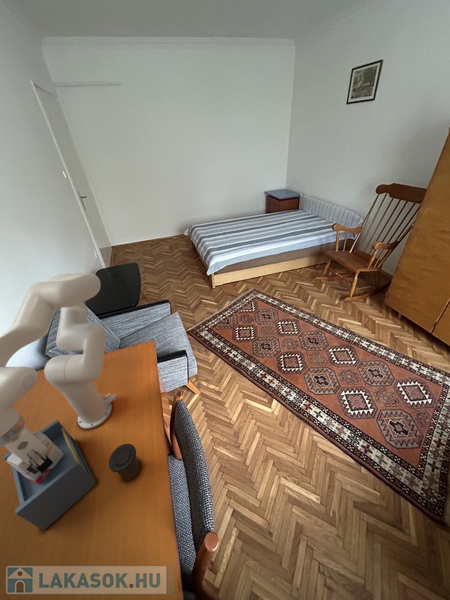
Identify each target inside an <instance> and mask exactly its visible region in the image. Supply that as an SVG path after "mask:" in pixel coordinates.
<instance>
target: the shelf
mask: <svg viewBox="0 0 450 600" xmlns="http://www.w3.org/2000/svg"><path fill="white" fill-rule="evenodd" d="M39 432H41V433H43V434H45V435H46V436H47V437H48V438H49V439H50V440H51V441H52V442H53V443H54V444H55V445H56V446H57V447H58V449H59V450H60V451H61V452H62V453H63V454H64V455H63V456H62V458H61V459H60V460H59V461H58V463H57V464H56V465H55V467H54V468H53V469H52V470H51V472H50V473H49V474H48V475H47V477H46V478H45V479H44V481H43V482H42V483H41V484H37V483H34V482H32V481H30V480H28V479H27V478H26V477H25V476H23V475H22V474H21V473H20V472H18V471H17V470H16V469H15V468H14V467H12V466H11V465H10V466H11V471H12V475H13V479H14V483H15V488H16V492H17V497H18V500H19V506H17V507H16V508H15V509H14V513H15V515H17V516H19V517H21V518H22V519H23V520H25V521H27V522H29V523H30V524H32V525H33V526H35V527H37V528H38V529H40V530H42V531H45V530H47V529H48V528H49V527H50V526H51V525H52V524H53V523H54V522H55V521H57V520H58V519H59V518H60V517H61V516H62V515H63V514H65V513H66V512H67V511H68V510H69V509H70V508H72V506H73V505H75V503H77V502H78V501H79V500H80V499H82V498H83V496H85V495H86V494H87V493H88V492H89V491H90V490H91V489H92V488H93V487H95V486H96V485H97V482H96V480H95V478H94V475H93V473H92V471H91V469H90V467H89V465H88V463H87V461H86V459H85V457H84V455H83V453H82V451H81V449H80V447H79V445H78V443H77V441H76V439H75V438H74V437H73V436H72V435H71V433H69V431H68V430H67V429H66V427H65V426H64V425H63V424H62V423H61V422H60V420H59V419H56V420H54V421H53V422H52V423H50V424H49V425H47V426H45V427H44V428H42V429H41V430H40V431H39ZM11 454H12V452H10V451H8V452H7V453H6V454H4V455H3V459H4V460H5V461H6V460H7V458H8V457H9V456H10V455H11Z"/></svg>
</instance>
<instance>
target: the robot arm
mask: <svg viewBox="0 0 450 600" xmlns="http://www.w3.org/2000/svg"><path fill="white" fill-rule="evenodd" d="M101 284H102V283H101V280H100V278H99V277H98V276H97V275H96V274H95V273H92V272H76V273H75V272H74V273H62V274H61V273H60V274H56V275H54V276H52V277H50V278H49V280H48V281H47V280H46V281H39V282H36V283H33V284H32V285H30V286H29V287H28V289H27V291H26V293H25V296H24V298H23V299H22V301H21V305H20V307H19V309H18V311H17V314H16V315H15V318H14V320H13V322H12V325H11V326H10V327H9V328H8V329H7V330H5V332H3V333H2V334H0V448H2V447H4V448H5V449H7V450H8V452H12V453H13V454H14V455H15V456H17V457H18V458H19V459H21V460H22V461H24V462H25V463H27V464H31V463H32V464H33V465H35V466H34V467H35V468H36V469H38V470H39V471H40V472H41V473H43V472H44V471H45V470H46V469H47V468H49V467H50V466H51V465H52V464H53V461H52V460H51V459H49V458H48V457H47V456H44V455H43V454H42V453H43V452H44V451H45V450H46V447H45V446H44V445H43V444H42V443H41V442H40V440H39V439H38V438H37V437H36V436H35V435H34V434H33V432H32V431H31V430H30V429H29V428H28V427H27V420H26V419H25V417H23V416H22V415H21V413H20V412H18V411H17V410H16V409H15V407H14V405H15V404H16V403H17V402H18V401H20V400H21V399H22V398H23V397H25V396H26V395H27V394H28V393H29V392H30V391H31V390H32V389H33V387H34V386H35V385H36V383H37V380H38V373H37V371H36V369H34V368H33V367H31V366H7V364H8V362H9V361H10V360H11V358H12V357H13V356H14V355H15V354H16V353H17V352H19V350H21V349H23V348H25V347H26V346H28V345H31V344H32V343H34V342H36V341H38V340H40V339H42V338H44V337H46V336H47V334H48V333H49V330H50V328H51V324H52V322H53V319H54V316H55V314H56V311H57V310H58V309H60V316H59V322H58V327H57V332H56V337H55V344H56V347H57V348H58V349H59V350H61V351H69V352H70V351H83V353H71V354H59V355H55V356H54V357H52V358H50V359H48V361H46V364H45V365H44V368H43V374H44V377H45V379H46V381H47V382H48V383H49V384H50V385H52V386H53V387H54V388H55V389H57V391H59V392H60V393H61V394H62V396H63V397H64V398H65V400H66V401H67V402H68V404H69V405H70V406H71V408H72V409H73V410H74V411H75V413H76V414H77V424H78V426H79V427H80V428H81V429H84V430H90V429H94V428H96V427H98V426H100V425H101V424H103V423H104V422H105V421H106V420H107V419H108V418H109V416H110V414H111V412H112V409H113V406H112V402H114V401H115V400H116V399H118V396H117V394H116V393H114V394H112V393H111V392H109V393H108V394H106V395H104V396H103V395H102V394H101V392H100V391H99V389H98V388H97V387H96V385H95V383H94V382H96V381H97V380H98V379H99V378H100V376H101V374H102V372H103V367H104V360H105V352H106V351H105V350H106V344H107V343H106V342H107V334H106V329H105V327H104V326H103V325H102V324H100V323H97V322H88V317H89V309H88V307H87V305H86V304H85V302H87V301H88V300H90V299H92V298H94V297H95V296H97V295H98V293H100V290H101ZM32 449H33V450H32ZM35 452H36V453H35ZM38 455H41V456H42V457H41V458H40V457H39V456H38ZM30 457H31V458H30ZM33 460H34V461H33Z"/></svg>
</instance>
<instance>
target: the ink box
mask: <svg viewBox="0 0 450 600" xmlns="http://www.w3.org/2000/svg"><path fill="white" fill-rule="evenodd" d="M32 433H33V434H34V435H35V436H36V437H37V438H38V439H39V440H40V442H41V443H42V444H43V445H44V446H45V447H46V450H45V451H44V452H43V453H42V454H43V455H44V456H47V457H48V458H49V459H51V460H52V461H53V464H52V465H51V466H50V467H49V468H47V469H46V470H45V471H44V472H43V473H41V472H40V471H39V470H38V469H36V468H35V467H34V466H35V465H33V464H32V463H31V464H27V463H25V462H24V461H22V460H21V459H19V458H18V457H17V456H15V455H14V454H13V453H12V454H11V455H10V456H9V457H8V458H7V460H5V461H6V463H8V464H9V465H10V466H12V467H14V468H15V469H16V470H17V471H18V472H20V473H21V474H22V475H23V476H25V477H26V478H27V479H28V480H30V481H32V482H34V483H37V484H41V483H42V482H43V481H44V479H45V478H46V477H47V475H48V474H49V473H50V472H51V470H52V469H53V468H54V467H55V465H56V464H57V463H58V461H59V460H60V459H61V458H62V456H63V455H64V454H63V453H62V452H61V451H60V450H59V449H58V447H57V446H56V445H55V444H54V443H53V442H52V441H51V440H50V439H49V438H48V437H47V436H46V435H45V434H43V433H41V432H40V431H37V430H34V431H33V432H32ZM32 450H33V449H32ZM35 453H36V452H35ZM38 456H39V457H40V458H41V457H42V456H41V455H38ZM30 458H31V457H30ZM33 461H34V460H33ZM12 467H11V468H12Z"/></svg>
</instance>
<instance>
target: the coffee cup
mask: <svg viewBox="0 0 450 600" xmlns="http://www.w3.org/2000/svg"><path fill="white" fill-rule="evenodd" d="M140 467H141V466H140V463H139V460H138V456H137V448H136V447H135V446H134V444H132V443H123V444H120V445H119V446H117V447H116V448H115V449H114V450H113V451H112V453H111V455H110V457H109V461H108V468H109V469H110V471H111V472H113V473H116V474H118V475H119V476H121V477H122V478H123V479H124V480H130V481H131V480H132V479H135V478H136V477H137V476H138V474H139V472H140Z"/></svg>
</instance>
